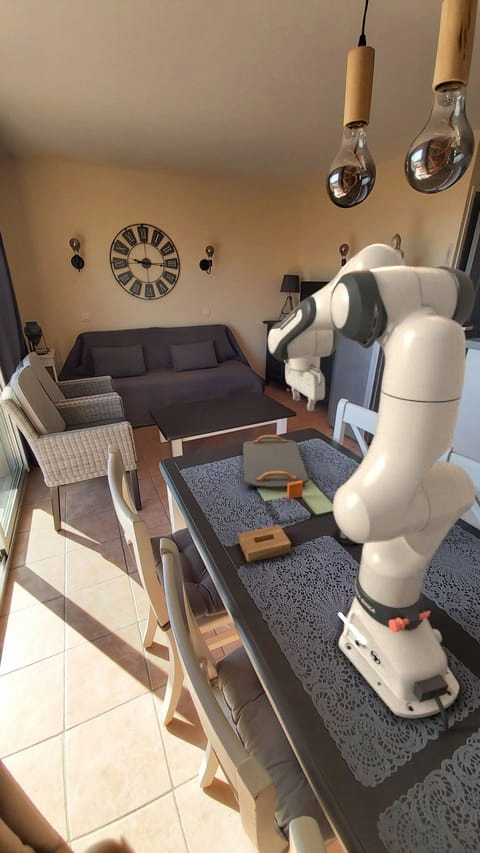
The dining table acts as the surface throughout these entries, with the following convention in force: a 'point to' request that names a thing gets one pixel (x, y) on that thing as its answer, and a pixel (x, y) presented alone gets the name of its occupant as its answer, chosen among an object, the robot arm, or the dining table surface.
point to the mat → (309, 494)
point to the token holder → (264, 543)
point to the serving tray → (272, 462)
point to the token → (294, 489)
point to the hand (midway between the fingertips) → (303, 405)
